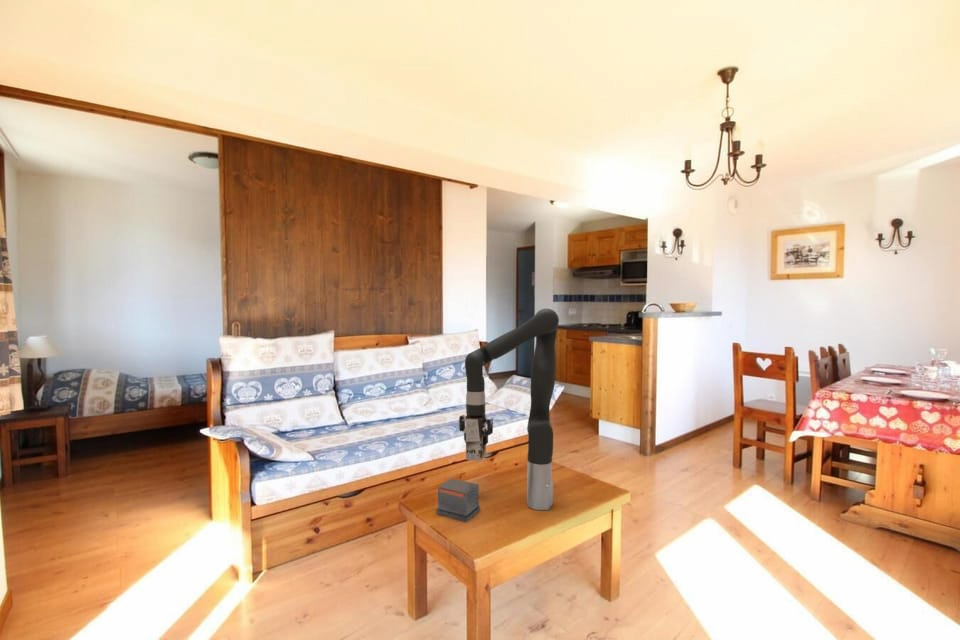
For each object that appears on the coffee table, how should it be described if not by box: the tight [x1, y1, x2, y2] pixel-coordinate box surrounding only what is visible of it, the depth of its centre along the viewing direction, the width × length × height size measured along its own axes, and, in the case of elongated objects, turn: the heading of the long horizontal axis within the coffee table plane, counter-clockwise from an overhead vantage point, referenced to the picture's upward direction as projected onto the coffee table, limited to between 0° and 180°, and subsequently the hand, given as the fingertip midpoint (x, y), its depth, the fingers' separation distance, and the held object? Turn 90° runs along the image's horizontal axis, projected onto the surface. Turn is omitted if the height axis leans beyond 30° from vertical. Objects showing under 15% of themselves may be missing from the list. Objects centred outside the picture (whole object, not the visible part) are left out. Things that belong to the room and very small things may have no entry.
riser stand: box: [435, 477, 481, 523], centre depth 166 cm, size 13×10×10 cm
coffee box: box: [465, 413, 487, 462], centre depth 176 cm, size 9×6×16 cm
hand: (475, 443), depth 176 cm, fingers closed on coffee box, 7 cm apart
